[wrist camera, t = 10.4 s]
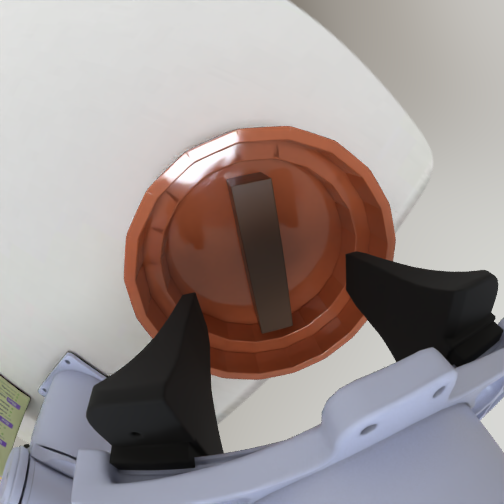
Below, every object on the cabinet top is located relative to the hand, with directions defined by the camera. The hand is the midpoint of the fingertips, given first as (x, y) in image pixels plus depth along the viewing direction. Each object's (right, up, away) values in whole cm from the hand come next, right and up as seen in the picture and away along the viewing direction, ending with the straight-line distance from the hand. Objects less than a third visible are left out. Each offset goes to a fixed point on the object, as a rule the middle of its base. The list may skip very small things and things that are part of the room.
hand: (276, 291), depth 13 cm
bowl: (-1, +2, +5) cm, 5 cm away
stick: (-1, +2, +4) cm, 5 cm away
